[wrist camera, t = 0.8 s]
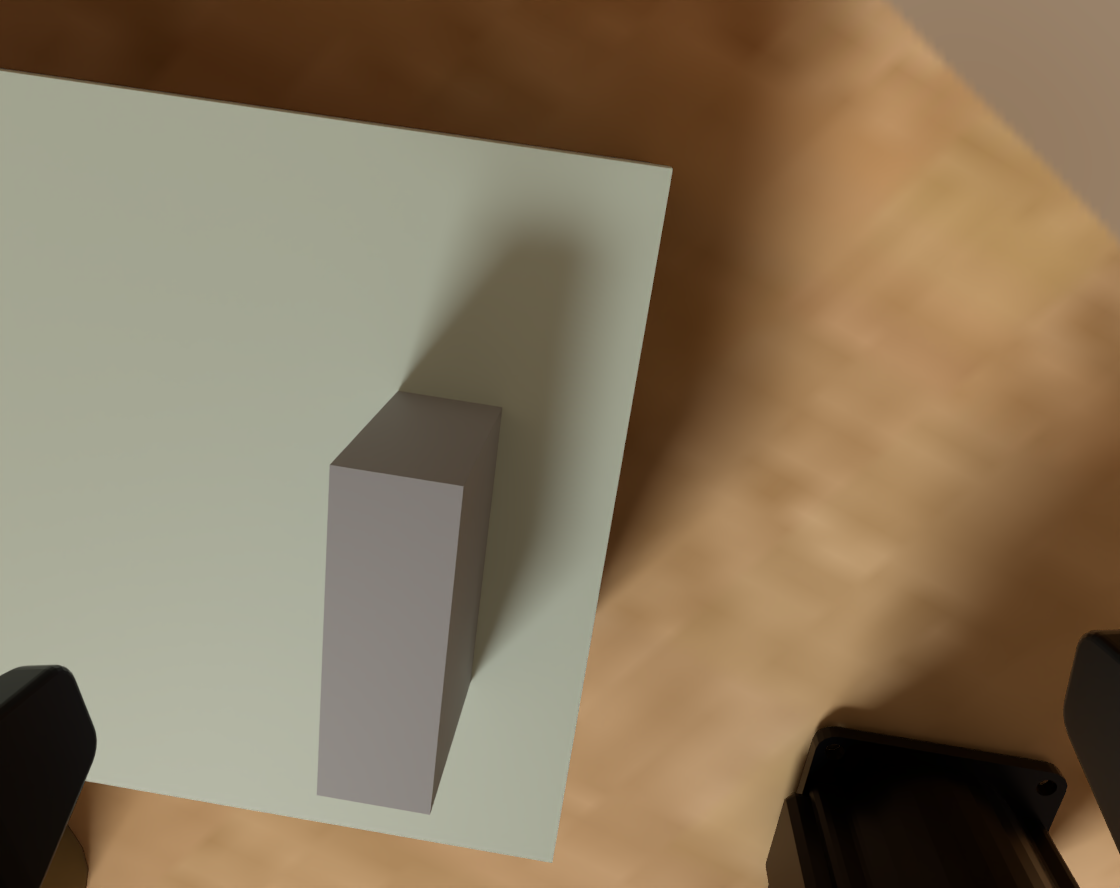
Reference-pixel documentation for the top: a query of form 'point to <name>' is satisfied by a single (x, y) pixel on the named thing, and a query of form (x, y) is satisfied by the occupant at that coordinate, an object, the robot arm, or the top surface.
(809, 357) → the top surface
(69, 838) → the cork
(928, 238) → the top surface
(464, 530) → the sliding box lid
